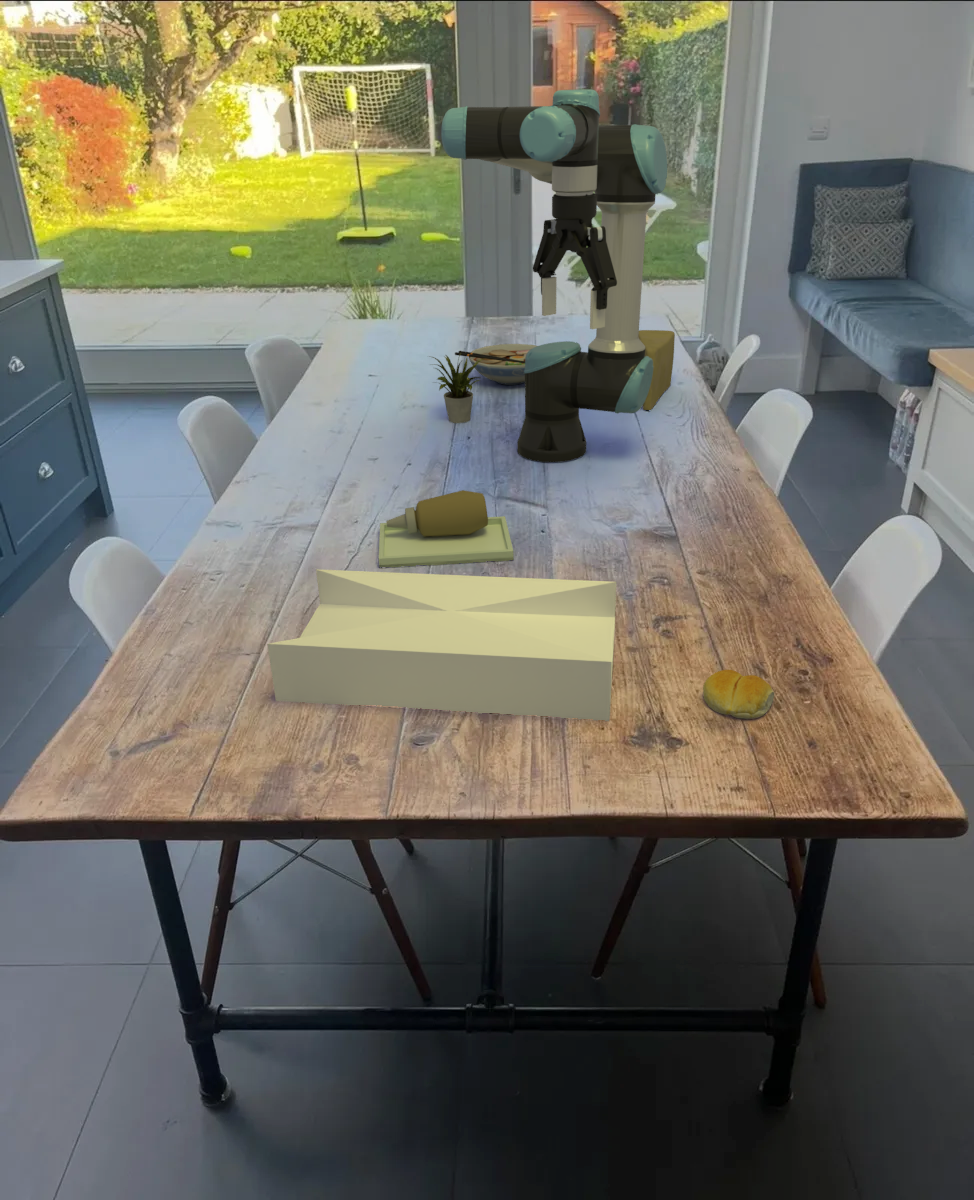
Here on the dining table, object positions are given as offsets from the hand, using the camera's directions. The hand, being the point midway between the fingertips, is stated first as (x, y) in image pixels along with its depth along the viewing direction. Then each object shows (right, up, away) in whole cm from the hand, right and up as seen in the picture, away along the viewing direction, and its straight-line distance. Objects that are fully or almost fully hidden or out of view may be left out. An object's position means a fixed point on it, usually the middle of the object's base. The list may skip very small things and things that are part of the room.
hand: (572, 321), depth 177 cm
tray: (-23, -40, 0) cm, 46 cm away
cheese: (+26, +1, +75) cm, 79 cm away
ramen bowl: (-9, +9, +91) cm, 92 cm away
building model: (-20, -60, -35) cm, 72 cm away
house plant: (-23, -6, +63) cm, 68 cm away
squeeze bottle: (-15, -33, +2) cm, 37 cm away
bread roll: (+18, -63, -45) cm, 80 cm away
